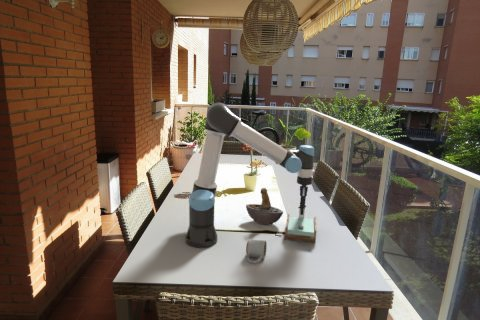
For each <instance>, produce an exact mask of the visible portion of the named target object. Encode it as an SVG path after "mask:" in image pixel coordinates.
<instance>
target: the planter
mask: <svg viewBox="0 0 480 320" xmlns="http://www.w3.org/2000/svg"><path fill="white" fill-rule="evenodd" d="M260 194H261V199H262V200H261V203H260V204H259V203H258V204H255V203H253V204H252V203H249V204H246V205H245V209H246V211H247V213H248V216H249V217H250V218H251V219H252V220H253V222H255V223H258V224H260V225H266V224H271V225H273V224H274V223H277V222H278V221H280V218H282V216H283V214H284V211H283V210H282V209H279V208H276V207H274V206H272V204H271V200H270V196H269V193H268V189H266V187H263V188H262V187H261V189H260Z"/></svg>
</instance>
